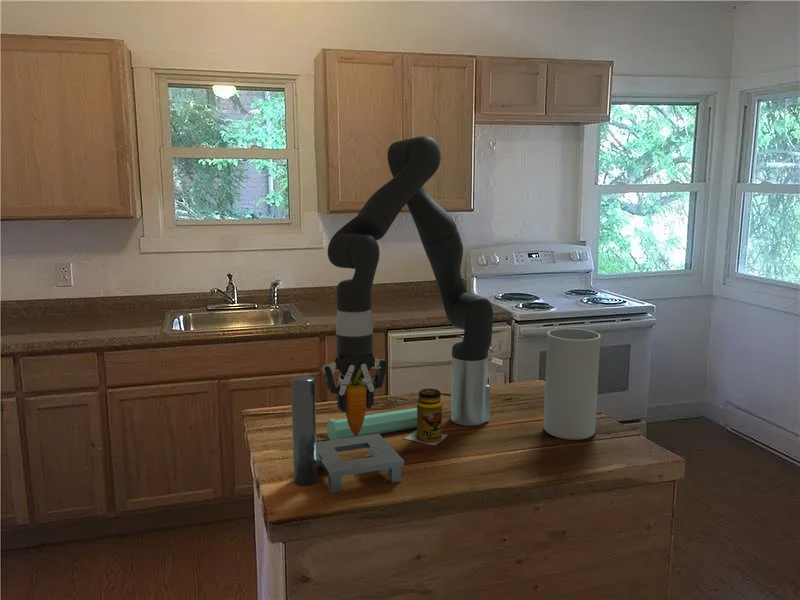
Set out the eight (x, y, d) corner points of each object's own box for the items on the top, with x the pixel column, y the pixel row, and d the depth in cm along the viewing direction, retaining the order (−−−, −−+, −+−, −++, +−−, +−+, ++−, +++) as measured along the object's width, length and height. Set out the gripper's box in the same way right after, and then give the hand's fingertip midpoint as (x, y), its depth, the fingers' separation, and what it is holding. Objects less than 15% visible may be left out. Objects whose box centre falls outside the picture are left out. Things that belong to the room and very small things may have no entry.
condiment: (435, 446, 157) (436, 397, 155) (403, 439, 161) (404, 392, 159) (448, 435, 163) (449, 389, 161) (417, 429, 167) (418, 384, 165)
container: (419, 400, 171) (328, 414, 160) (429, 415, 167) (337, 430, 155) (415, 418, 174) (325, 432, 163) (425, 433, 169) (333, 449, 158)
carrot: (341, 432, 142) (340, 365, 140) (363, 429, 144) (362, 363, 141) (347, 441, 138) (347, 371, 135) (370, 438, 139) (370, 369, 137)
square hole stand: (378, 453, 152) (378, 360, 149) (404, 482, 138) (404, 380, 134) (286, 467, 145) (283, 370, 141) (302, 499, 130) (299, 392, 126)
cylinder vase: (553, 419, 174) (557, 326, 170) (600, 428, 168) (606, 332, 164) (536, 434, 164) (540, 336, 160) (586, 444, 158) (592, 342, 153)
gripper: (381, 324, 143) (381, 399, 146) (316, 329, 138) (317, 407, 141) (393, 331, 136) (393, 410, 139) (325, 337, 131) (327, 419, 134)
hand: (355, 408), depth 140 cm, fingers closed on carrot, 5 cm apart
